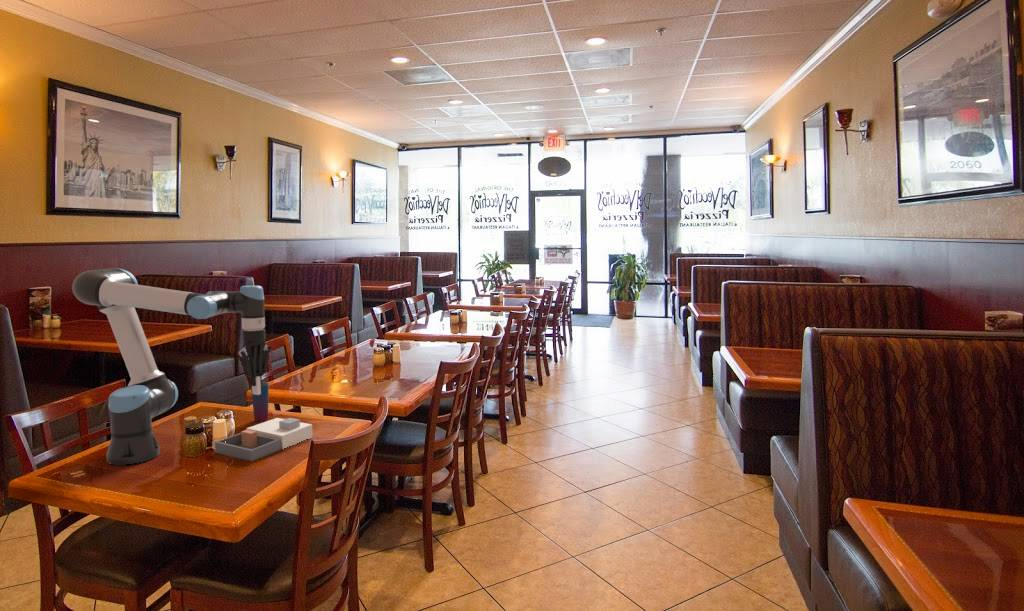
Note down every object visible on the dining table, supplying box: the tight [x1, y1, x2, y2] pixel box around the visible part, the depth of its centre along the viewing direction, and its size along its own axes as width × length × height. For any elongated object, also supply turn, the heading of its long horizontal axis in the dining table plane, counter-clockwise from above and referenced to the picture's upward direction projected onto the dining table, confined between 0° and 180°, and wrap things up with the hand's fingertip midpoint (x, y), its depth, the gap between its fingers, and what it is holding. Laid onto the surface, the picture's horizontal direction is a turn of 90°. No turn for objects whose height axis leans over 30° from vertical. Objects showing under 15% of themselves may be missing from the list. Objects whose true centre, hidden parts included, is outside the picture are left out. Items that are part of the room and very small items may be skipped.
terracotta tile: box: [240, 429, 257, 447], centre depth 208 cm, size 5×5×2 cm
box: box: [214, 432, 282, 463], centre depth 203 cm, size 18×12×4 cm, turn 64°
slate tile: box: [279, 417, 301, 430], centre depth 214 cm, size 5×5×2 cm
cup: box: [250, 381, 270, 422], centre depth 238 cm, size 7×7×15 cm
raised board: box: [246, 417, 314, 450], centre depth 216 cm, size 18×14×5 cm
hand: (256, 394), depth 210 cm, fingers closed
